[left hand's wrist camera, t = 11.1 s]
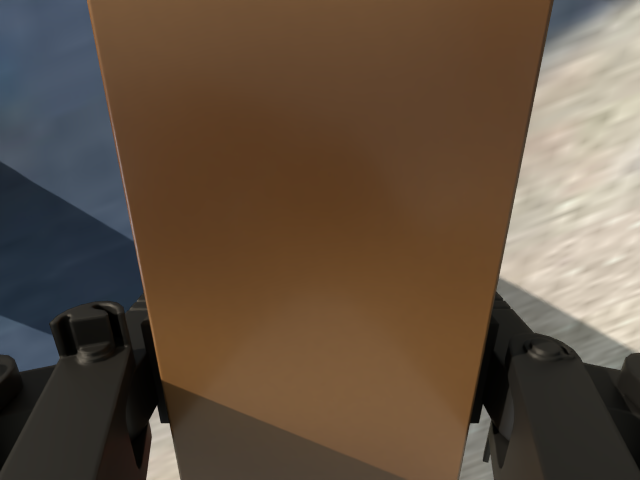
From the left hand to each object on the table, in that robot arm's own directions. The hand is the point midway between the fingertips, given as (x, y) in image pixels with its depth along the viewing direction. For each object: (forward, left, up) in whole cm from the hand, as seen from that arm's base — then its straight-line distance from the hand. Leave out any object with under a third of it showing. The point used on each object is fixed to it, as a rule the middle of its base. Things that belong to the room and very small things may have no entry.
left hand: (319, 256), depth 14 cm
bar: (+6, +19, -1) cm, 20 cm away
